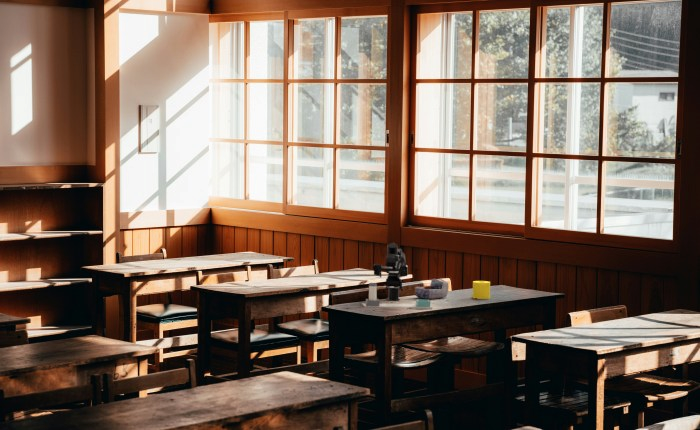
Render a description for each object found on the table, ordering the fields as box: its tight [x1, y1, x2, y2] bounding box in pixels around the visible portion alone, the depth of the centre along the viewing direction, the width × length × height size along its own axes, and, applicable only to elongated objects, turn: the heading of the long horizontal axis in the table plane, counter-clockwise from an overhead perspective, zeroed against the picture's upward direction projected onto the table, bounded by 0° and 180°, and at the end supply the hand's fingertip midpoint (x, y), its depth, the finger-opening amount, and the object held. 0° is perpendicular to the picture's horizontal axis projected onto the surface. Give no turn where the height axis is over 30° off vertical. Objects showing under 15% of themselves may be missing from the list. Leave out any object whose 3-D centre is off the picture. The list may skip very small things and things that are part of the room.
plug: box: [368, 282, 378, 300], centre depth 574 cm, size 3×3×12 cm
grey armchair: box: [414, 278, 449, 300], centre depth 616 cm, size 13×11×20 cm
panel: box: [362, 298, 433, 310], centre depth 576 cm, size 12×37×4 cm, turn 94°
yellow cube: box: [472, 280, 491, 300], centre depth 620 cm, size 10×10×9 cm
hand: (389, 276), depth 579 cm, fingers open, 9 cm apart
